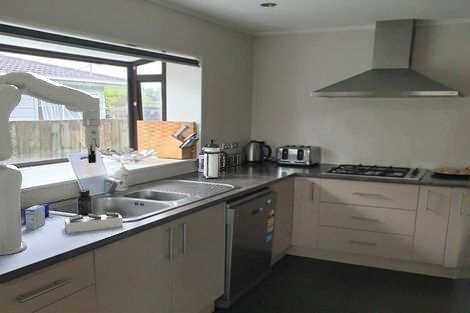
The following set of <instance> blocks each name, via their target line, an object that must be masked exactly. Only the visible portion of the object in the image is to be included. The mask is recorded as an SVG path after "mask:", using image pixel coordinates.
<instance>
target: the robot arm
mask: <svg viewBox="0 0 470 313" xmlns="http://www.w3.org/2000/svg"><path fill="white" fill-rule="evenodd" d="M22 95H24V96H29V97H32V98H35V99H37V100H40V101H42V102H45V103H48V104H52V105H60V106H64V107H65V109H67V110H68V111H69V112H72V113H81V114H82V127H84V136H85V138H84V141H85V147H87V152H88V153H87V162H88V163H89V164H96V163H97V148H98V149H100V147H101V144H100V130H99V127H101V106H100V104H101V102H100V101H101V100H100V97H99V96H97V95H92V94H90V93H88V92H86V91H84V90H80V89H78V88H74V87H71V86H67V85H65V84H62V83H61V84H59V83H57V82H54V81H52V80H50V79H47V78H45V77H42V76H40V75H37V74H36V73H34V72H30V71H17V72H16V71H14V72H13V71H11V72H7V73H5V74H3V75H0V162H6V161H8V160H10V159H11V158H12V156H13V154H14V153H13V152H14V150H13V149H14V148H13V141H12V137H11V131H10V130H11V129H10V117H11V114H12V112H13V111H14V110H15V109H16V108H17V106H19V104H20V103H21V101H22ZM22 184H23V174H22V172H21V170H20V169H19V168H18V167H16V166H15V165H11V164H7V163H6V164H4V163H0V256H6V255H12V254H13V255H14V254H16V253H17V254H18V253H19V252H20V253H21V252H22V251H24V250H26V248H27V247H28V246H27V245H28V244H27V242H25V241H23V237H22V235H23V234H22V212H21V211H22V210H21V189H22Z"/></svg>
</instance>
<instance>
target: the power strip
mask: <svg viewBox="0 0 470 313" xmlns="http://www.w3.org/2000/svg"><path fill="white" fill-rule="evenodd" d="M99 215H100V216H101V219H95V218H89V217H88V215H87V216H83V219H81V220H77V221H73V222H70V220H69V218H64V229H65V231H66V233H67V234H70V233H71V234H72V233H78V232H87V231H95V230H103V229H111V228H118V227H123V217H122V215H121V214H119V217H112V216H106V215H105V214H99Z"/></svg>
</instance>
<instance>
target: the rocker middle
mask: <svg viewBox="0 0 470 313" xmlns="http://www.w3.org/2000/svg"><path fill="white" fill-rule="evenodd" d="M100 215H101V214H93V213H92V214H89V213H88V215H87V216H88V217H89V218H95V219H101V216H100Z"/></svg>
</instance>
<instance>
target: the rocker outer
mask: <svg viewBox="0 0 470 313" xmlns="http://www.w3.org/2000/svg"><path fill="white" fill-rule="evenodd" d="M104 215H106V216H112V217H119V215H120V213H119V212H111V211H110V212H108V211H107V212H105V214H104Z"/></svg>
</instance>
